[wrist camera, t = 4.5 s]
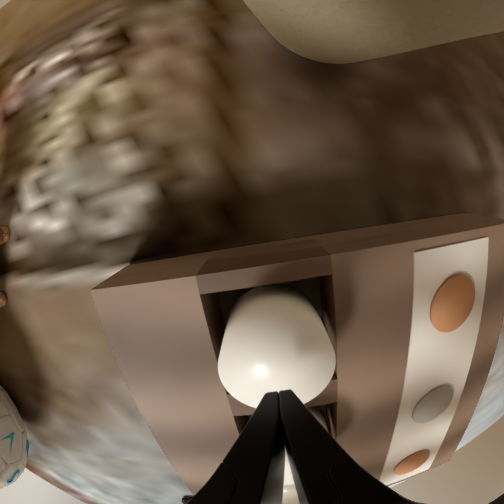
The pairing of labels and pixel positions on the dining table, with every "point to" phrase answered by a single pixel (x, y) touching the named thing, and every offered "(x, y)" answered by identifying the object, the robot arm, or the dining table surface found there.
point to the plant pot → (373, 25)
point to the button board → (339, 332)
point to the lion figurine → (3, 235)
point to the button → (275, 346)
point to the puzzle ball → (11, 441)
